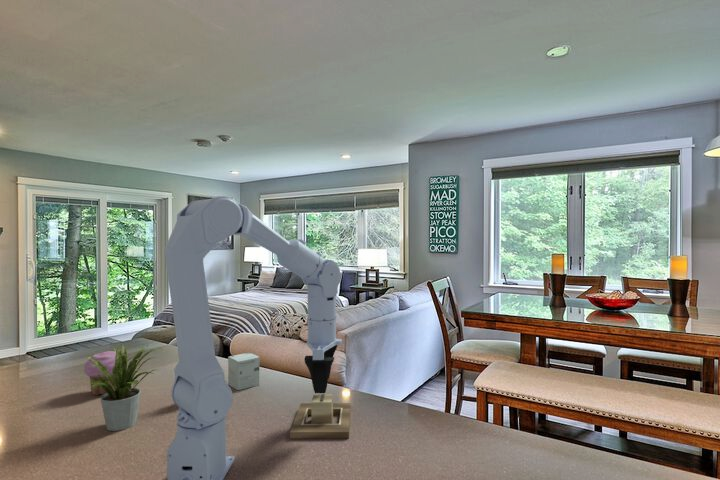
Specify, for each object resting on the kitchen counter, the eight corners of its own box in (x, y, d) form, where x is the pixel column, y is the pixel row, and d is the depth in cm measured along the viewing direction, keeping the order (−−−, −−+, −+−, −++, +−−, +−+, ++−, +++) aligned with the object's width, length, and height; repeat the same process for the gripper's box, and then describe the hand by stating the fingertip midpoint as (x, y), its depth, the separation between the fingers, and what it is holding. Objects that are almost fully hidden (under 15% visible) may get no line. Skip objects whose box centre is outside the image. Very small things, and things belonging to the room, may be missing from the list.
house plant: (180, 419, 83) (179, 341, 83) (111, 449, 71) (110, 358, 71) (140, 405, 90) (140, 333, 90) (71, 431, 78) (70, 348, 78)
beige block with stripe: (331, 427, 79) (331, 401, 79) (311, 427, 79) (311, 401, 79) (333, 418, 83) (332, 393, 83) (313, 418, 83) (313, 393, 83)
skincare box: (237, 391, 98) (237, 361, 98) (227, 384, 103) (227, 356, 103) (260, 385, 102) (259, 356, 102) (249, 379, 107) (249, 351, 107)
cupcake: (79, 400, 93) (78, 358, 93) (91, 387, 102) (90, 348, 102) (122, 395, 96) (121, 354, 96) (130, 383, 104) (130, 345, 104)
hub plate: (348, 438, 74) (348, 431, 74) (290, 438, 75) (290, 431, 75) (350, 408, 87) (350, 402, 87) (300, 408, 88) (300, 403, 88)
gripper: (339, 325, 74) (339, 399, 74) (343, 311, 88) (343, 373, 88) (301, 326, 74) (301, 399, 74) (311, 312, 88) (311, 373, 88)
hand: (322, 385), depth 81 cm, fingers open, 7 cm apart
